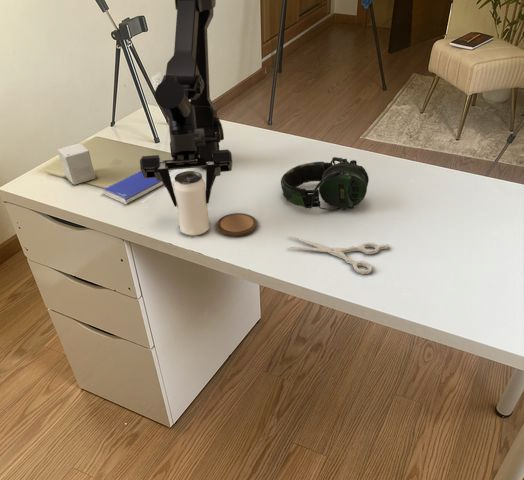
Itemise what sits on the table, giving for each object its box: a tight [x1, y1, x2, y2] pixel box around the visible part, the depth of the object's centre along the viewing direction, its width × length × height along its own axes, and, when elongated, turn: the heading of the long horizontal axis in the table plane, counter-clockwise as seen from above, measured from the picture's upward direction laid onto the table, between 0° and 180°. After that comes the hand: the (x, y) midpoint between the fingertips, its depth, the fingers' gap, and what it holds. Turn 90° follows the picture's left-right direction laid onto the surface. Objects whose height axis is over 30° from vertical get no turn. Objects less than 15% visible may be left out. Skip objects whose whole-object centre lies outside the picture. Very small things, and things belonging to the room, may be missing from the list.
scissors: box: [291, 236, 390, 275], centre depth 108 cm, size 11×1×20 cm
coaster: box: [216, 212, 258, 238], centre depth 117 cm, size 9×9×1 cm
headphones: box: [280, 156, 370, 211], centre depth 121 cm, size 13×13×20 cm
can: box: [173, 170, 210, 237], centre depth 112 cm, size 6×6×12 cm
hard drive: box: [102, 170, 164, 205], centre depth 130 cm, size 2×8×12 cm
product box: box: [57, 142, 97, 186], centre depth 133 cm, size 6×6×7 cm
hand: (191, 204), depth 111 cm, fingers closed on can, 6 cm apart
